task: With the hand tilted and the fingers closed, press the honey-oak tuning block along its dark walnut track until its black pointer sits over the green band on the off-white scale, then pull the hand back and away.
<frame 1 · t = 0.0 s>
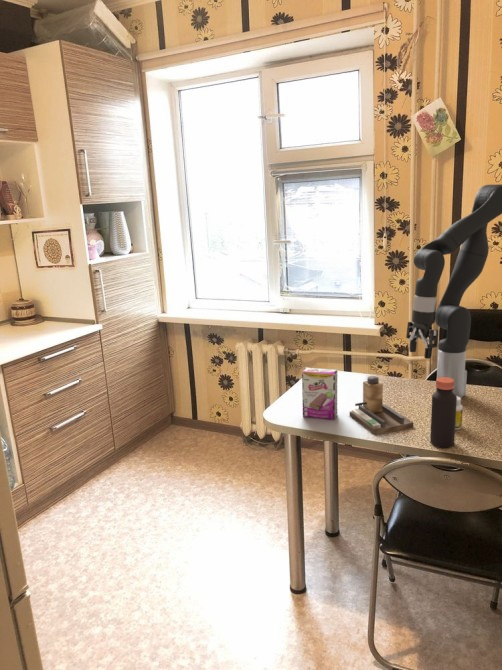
hand: (419, 355, 191), 17 cm above the table, tool pointing down, fingers open, 8 cm apart
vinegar: (442, 443, 165), on the table
candy bar box: (320, 416, 188), on the table
supplement bottle: (452, 427, 175), on the table
tuning block: (367, 395, 183), point 8 cm above the table, slide at 0.0 cm
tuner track: (380, 421, 181), on the table
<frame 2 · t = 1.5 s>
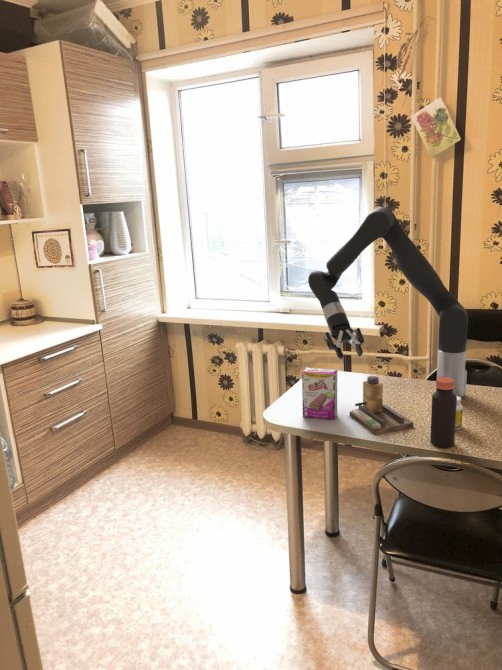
hand: (351, 356, 195), 17 cm above the table, tool tilted 45°, fingers open, 7 cm apart
nothing on the table moved.
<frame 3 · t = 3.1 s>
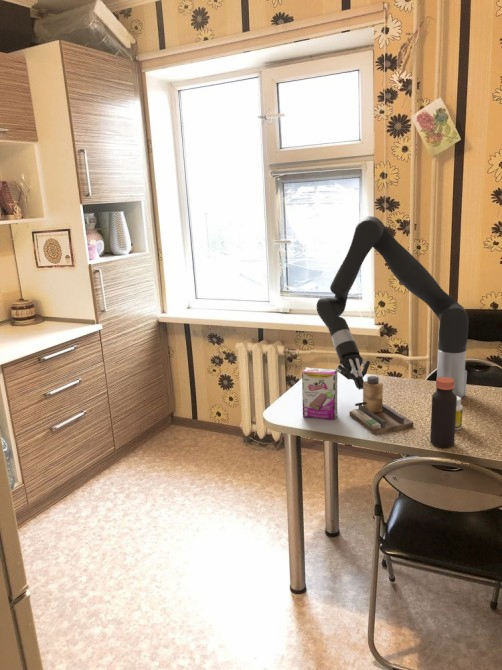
hand: (361, 388, 190), 7 cm above the table, tool tilted 45°, fingers closed
nothing on the table moved.
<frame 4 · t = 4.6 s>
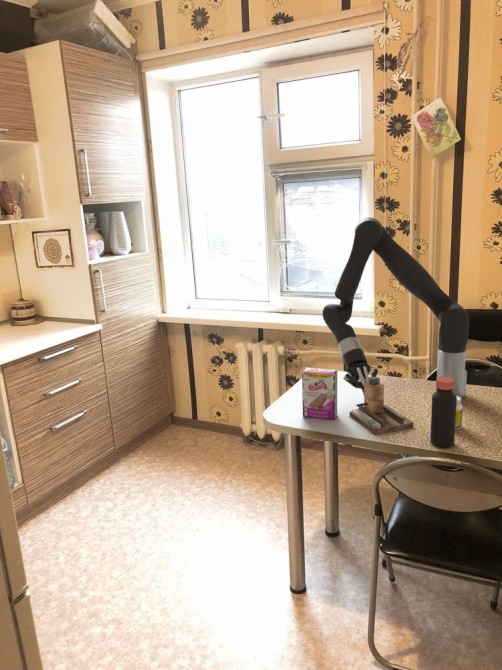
hand: (369, 397, 186), 6 cm above the table, tool tilted 45°, fingers closed
tuning block: (368, 396, 183), point 8 cm above the table, slide at 0.7 cm, touching gripper
everything else where it was.
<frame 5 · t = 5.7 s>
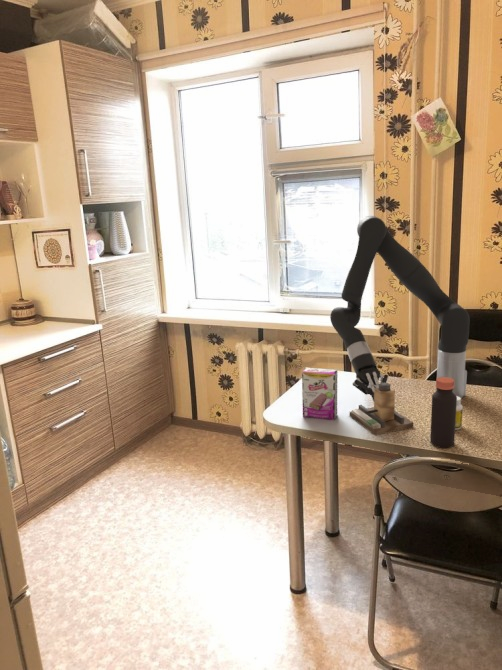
hand: (380, 403, 180), 6 cm above the table, tool tilted 45°, fingers closed
tuning block: (378, 402, 177), point 8 cm above the table, slide at 7.0 cm, touching gripper
everything else where it was.
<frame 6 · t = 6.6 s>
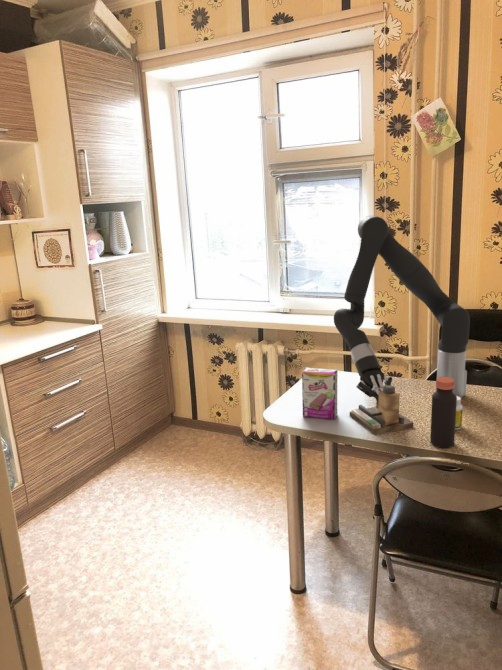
hand: (384, 406, 178), 6 cm above the table, tool tilted 45°, fingers closed
tuning block: (383, 405, 175), point 8 cm above the table, slide at 9.6 cm, touching gripper
everything else where it was.
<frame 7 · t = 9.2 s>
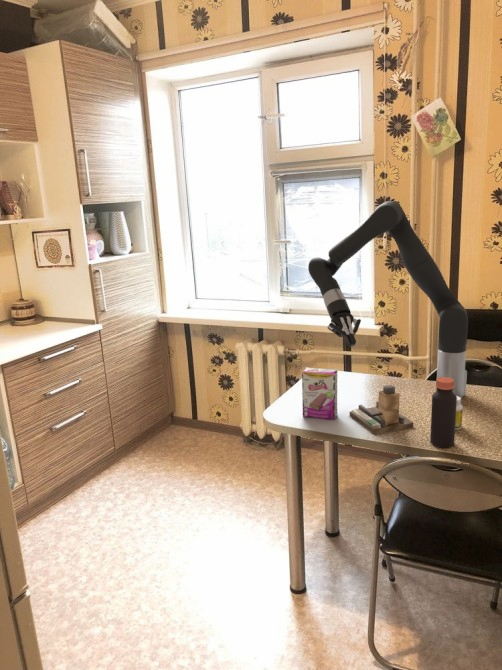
hand: (353, 345, 193), 21 cm above the table, tool tilted 45°, fingers closed
tuning block: (383, 405, 175), point 8 cm above the table, slide at 9.6 cm
everything else where it was.
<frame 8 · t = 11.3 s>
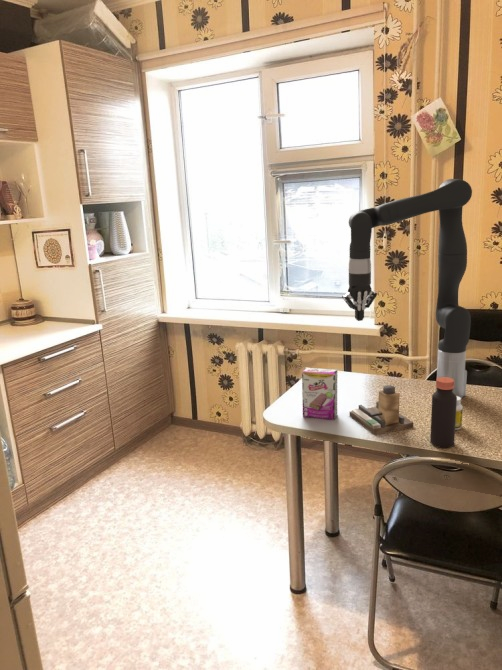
hand: (359, 320, 194), 29 cm above the table, tool pointing down, fingers closed
nothing on the table moved.
at the end: tuning block slide at 9.6 cm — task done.
